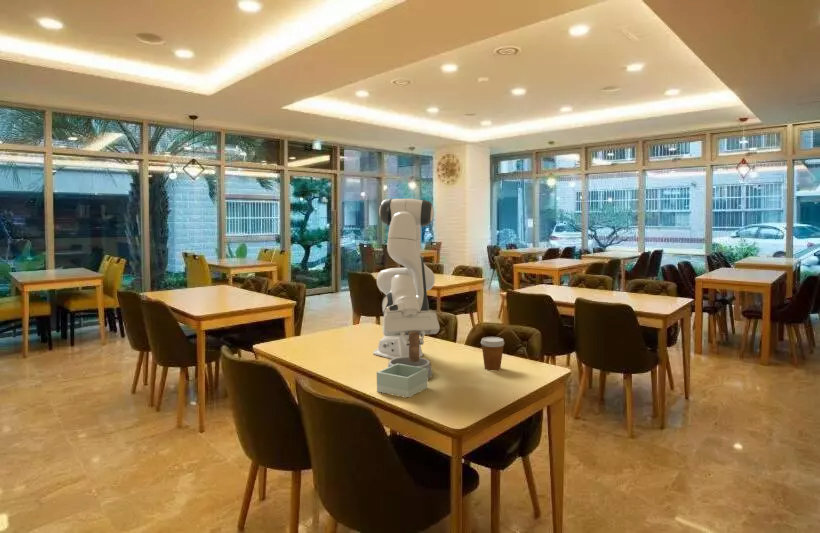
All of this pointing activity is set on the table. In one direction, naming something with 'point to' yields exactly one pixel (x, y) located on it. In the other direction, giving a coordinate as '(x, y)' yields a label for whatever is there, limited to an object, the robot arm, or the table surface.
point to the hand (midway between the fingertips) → (414, 344)
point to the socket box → (402, 380)
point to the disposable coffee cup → (492, 352)
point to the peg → (414, 346)
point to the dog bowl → (412, 363)
